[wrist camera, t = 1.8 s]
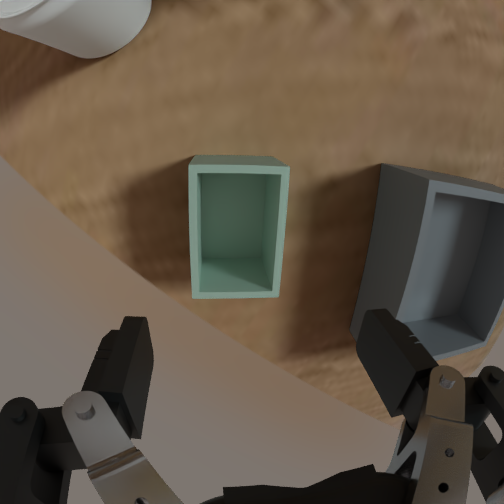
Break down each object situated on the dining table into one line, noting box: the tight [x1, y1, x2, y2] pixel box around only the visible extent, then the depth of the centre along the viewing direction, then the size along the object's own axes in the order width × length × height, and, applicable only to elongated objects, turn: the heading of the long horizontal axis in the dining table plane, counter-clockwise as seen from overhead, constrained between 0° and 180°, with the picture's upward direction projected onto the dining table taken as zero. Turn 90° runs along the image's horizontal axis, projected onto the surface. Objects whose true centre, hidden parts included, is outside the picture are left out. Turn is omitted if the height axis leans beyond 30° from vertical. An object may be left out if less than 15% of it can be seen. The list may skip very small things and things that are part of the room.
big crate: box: [349, 163, 504, 361], centre depth 25 cm, size 18×17×7 cm
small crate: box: [189, 155, 290, 299], centre depth 22 cm, size 9×6×6 cm, turn 177°
